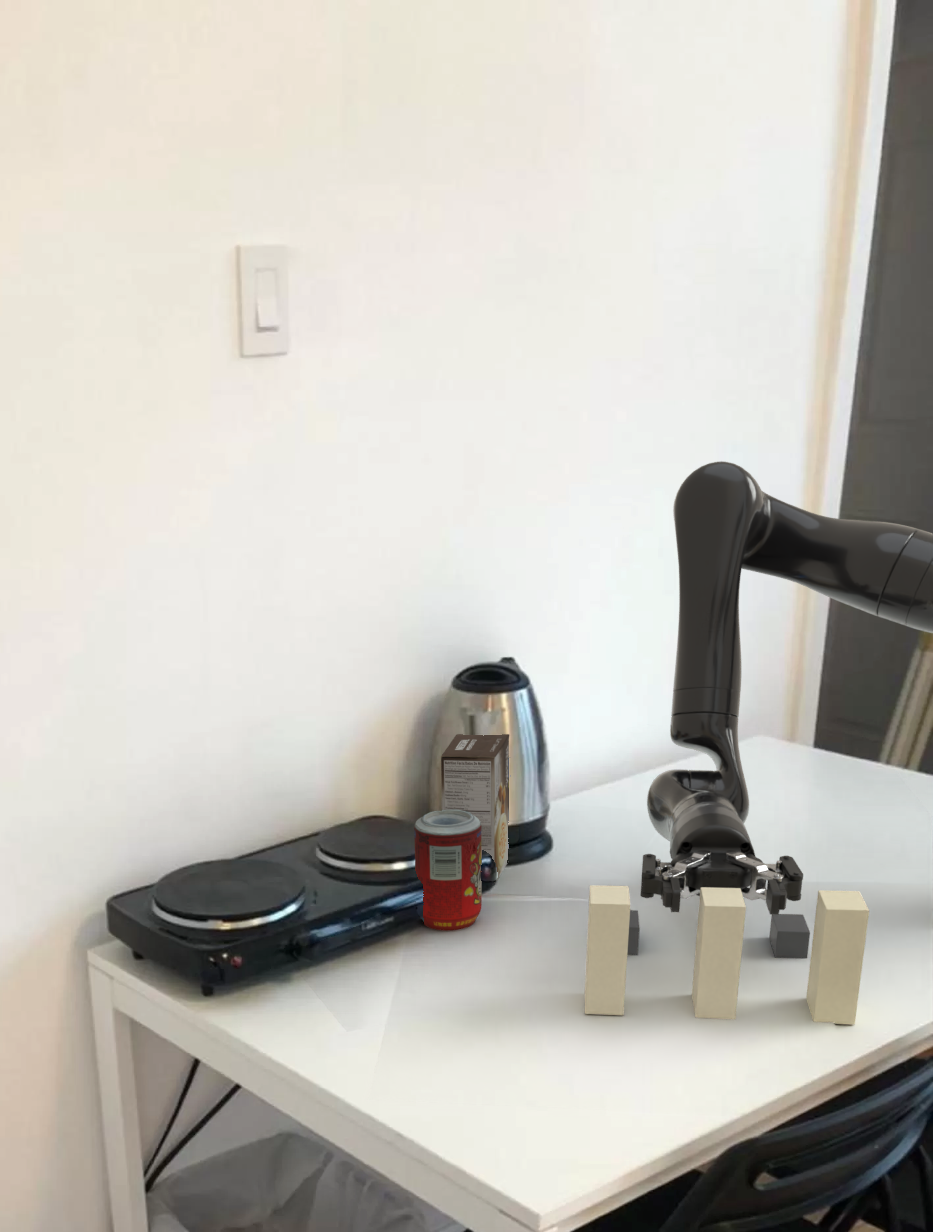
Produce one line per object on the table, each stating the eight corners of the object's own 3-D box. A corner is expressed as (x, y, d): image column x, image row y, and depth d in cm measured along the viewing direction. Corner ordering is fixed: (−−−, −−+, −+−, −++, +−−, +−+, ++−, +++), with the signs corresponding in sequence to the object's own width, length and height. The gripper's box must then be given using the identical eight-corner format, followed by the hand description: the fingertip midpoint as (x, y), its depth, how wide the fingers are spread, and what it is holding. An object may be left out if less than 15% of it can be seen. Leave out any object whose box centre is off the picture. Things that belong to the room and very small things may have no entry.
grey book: (635, 941, 155) (637, 910, 153) (637, 959, 150) (639, 927, 149) (605, 940, 155) (607, 909, 154) (606, 958, 151) (608, 926, 150)
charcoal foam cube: (799, 946, 151) (803, 914, 150) (806, 965, 147) (810, 932, 145) (768, 945, 152) (771, 913, 150) (774, 964, 147) (777, 931, 146)
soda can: (487, 933, 159) (486, 824, 154) (420, 938, 159) (417, 830, 154) (476, 909, 165) (475, 803, 160) (412, 913, 166) (409, 808, 161)
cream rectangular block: (622, 994, 143) (628, 885, 138) (623, 1015, 138) (630, 904, 134) (584, 992, 144) (589, 885, 139) (584, 1014, 139) (590, 903, 135)
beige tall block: (845, 1002, 138) (859, 890, 134) (854, 1025, 134) (869, 910, 129) (805, 1001, 139) (818, 890, 135) (813, 1023, 134) (826, 909, 130)
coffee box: (456, 860, 181) (455, 732, 174) (509, 863, 179) (510, 733, 172) (441, 888, 173) (439, 754, 167) (496, 891, 171) (497, 756, 164)
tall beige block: (730, 997, 141) (740, 888, 136) (735, 1019, 136) (746, 906, 132) (691, 996, 141) (700, 887, 137) (695, 1018, 137) (704, 905, 133)
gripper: (638, 811, 149) (646, 863, 135) (789, 812, 146) (814, 865, 131) (634, 882, 152) (641, 940, 137) (782, 885, 149) (805, 944, 134)
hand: (725, 903), depth 134 cm, fingers open, 8 cm apart
